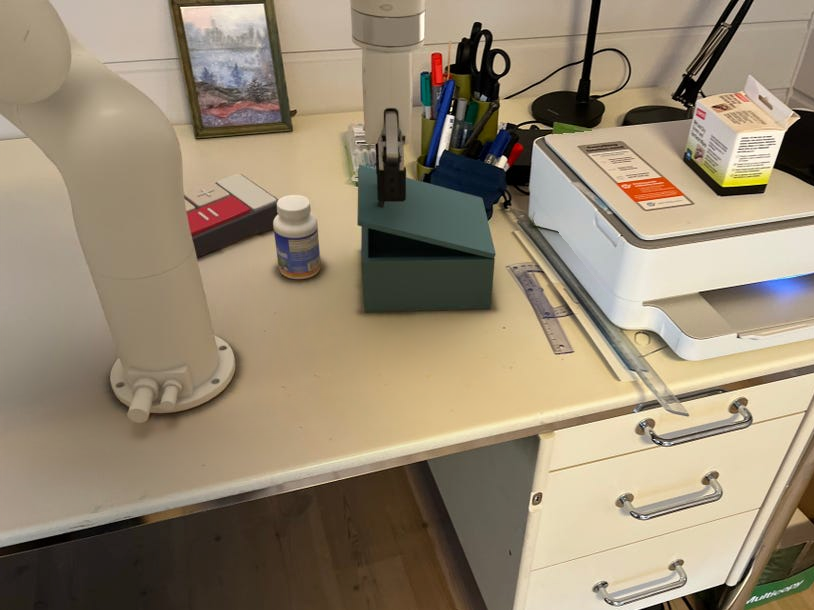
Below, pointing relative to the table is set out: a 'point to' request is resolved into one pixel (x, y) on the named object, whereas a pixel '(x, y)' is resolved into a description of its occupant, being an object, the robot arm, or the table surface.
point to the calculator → (228, 212)
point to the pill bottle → (296, 238)
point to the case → (421, 275)
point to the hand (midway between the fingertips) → (390, 185)
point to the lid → (426, 215)
